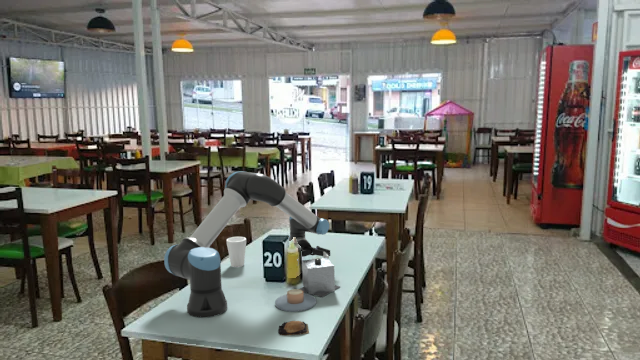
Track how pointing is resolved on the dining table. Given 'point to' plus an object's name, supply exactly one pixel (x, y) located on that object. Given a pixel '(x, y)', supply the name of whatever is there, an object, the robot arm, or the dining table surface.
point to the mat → (319, 293)
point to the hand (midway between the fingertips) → (313, 260)
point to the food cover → (318, 275)
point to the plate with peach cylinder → (295, 301)
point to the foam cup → (236, 250)
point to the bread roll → (293, 328)
